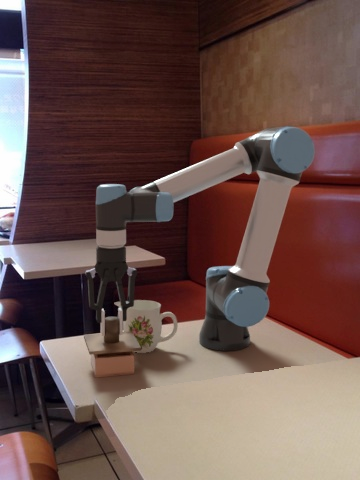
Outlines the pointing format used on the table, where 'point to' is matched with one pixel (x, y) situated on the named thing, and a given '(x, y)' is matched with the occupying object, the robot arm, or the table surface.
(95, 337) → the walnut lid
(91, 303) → the robot arm
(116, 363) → the terracotta dish
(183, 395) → the table surface
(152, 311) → the pitcher
